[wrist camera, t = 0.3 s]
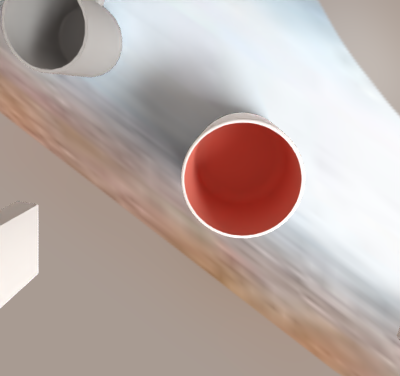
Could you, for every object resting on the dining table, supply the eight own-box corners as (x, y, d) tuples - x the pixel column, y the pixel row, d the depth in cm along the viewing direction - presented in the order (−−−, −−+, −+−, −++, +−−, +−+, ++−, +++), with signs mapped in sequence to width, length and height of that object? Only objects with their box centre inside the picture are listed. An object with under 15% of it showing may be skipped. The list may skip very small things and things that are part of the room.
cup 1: (47, 58, 37) (-10, 48, 28) (80, -39, 34) (27, -83, 26) (108, 89, 37) (70, 88, 29) (146, -5, 34) (115, -37, 26)
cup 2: (185, 189, 39) (168, 220, 30) (207, 101, 36) (197, 104, 27) (271, 213, 39) (282, 252, 29) (300, 125, 36) (323, 137, 26)
